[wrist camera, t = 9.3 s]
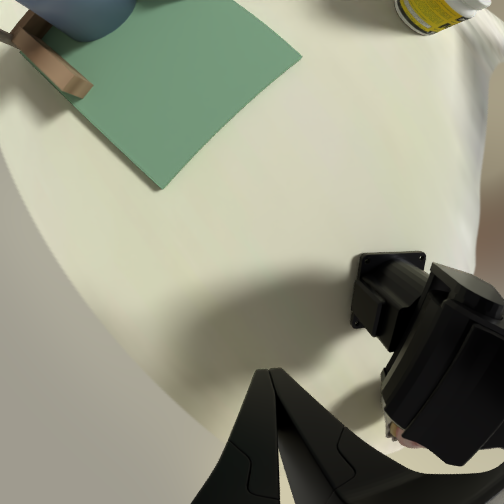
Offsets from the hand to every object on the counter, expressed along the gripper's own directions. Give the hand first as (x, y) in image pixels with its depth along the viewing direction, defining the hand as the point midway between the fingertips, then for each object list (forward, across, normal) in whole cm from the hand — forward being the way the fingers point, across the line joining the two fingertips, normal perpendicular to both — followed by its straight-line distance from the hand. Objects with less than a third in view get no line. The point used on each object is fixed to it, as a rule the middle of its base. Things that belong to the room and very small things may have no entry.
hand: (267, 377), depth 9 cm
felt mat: (+12, +7, -16) cm, 22 cm away
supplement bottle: (+12, -15, -22) cm, 29 cm away
